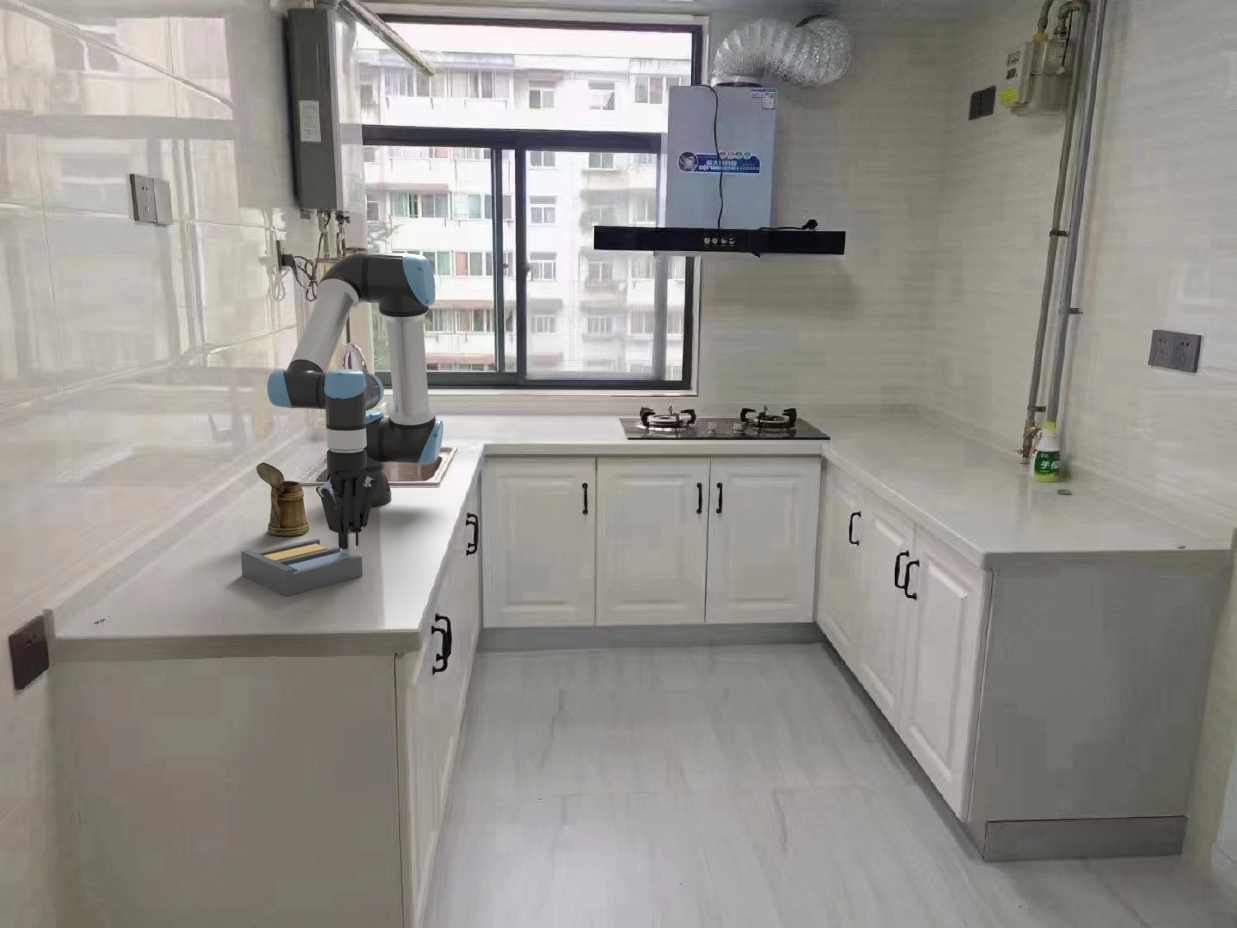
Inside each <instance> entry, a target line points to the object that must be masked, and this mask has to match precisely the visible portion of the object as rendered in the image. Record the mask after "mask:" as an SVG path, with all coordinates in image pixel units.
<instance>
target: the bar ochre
mask: <svg viewBox="0 0 1237 928" xmlns="http://www.w3.org/2000/svg"><path fill="white" fill-rule="evenodd" d="M325 549H328V548H327V547H325V546H323V545H321V544H320V545H318V544H312V545H308V546H304V547H299V548H295V549H291V550H286V551H282V552H277V553H273V554H269V555H264V556H265V557H267V558H270V559H272V560H274V561H279V560H284V559H288V558H292V557H296V556H300V555H304V554H309V553H313V552H317V551H321V550H325Z"/></svg>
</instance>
